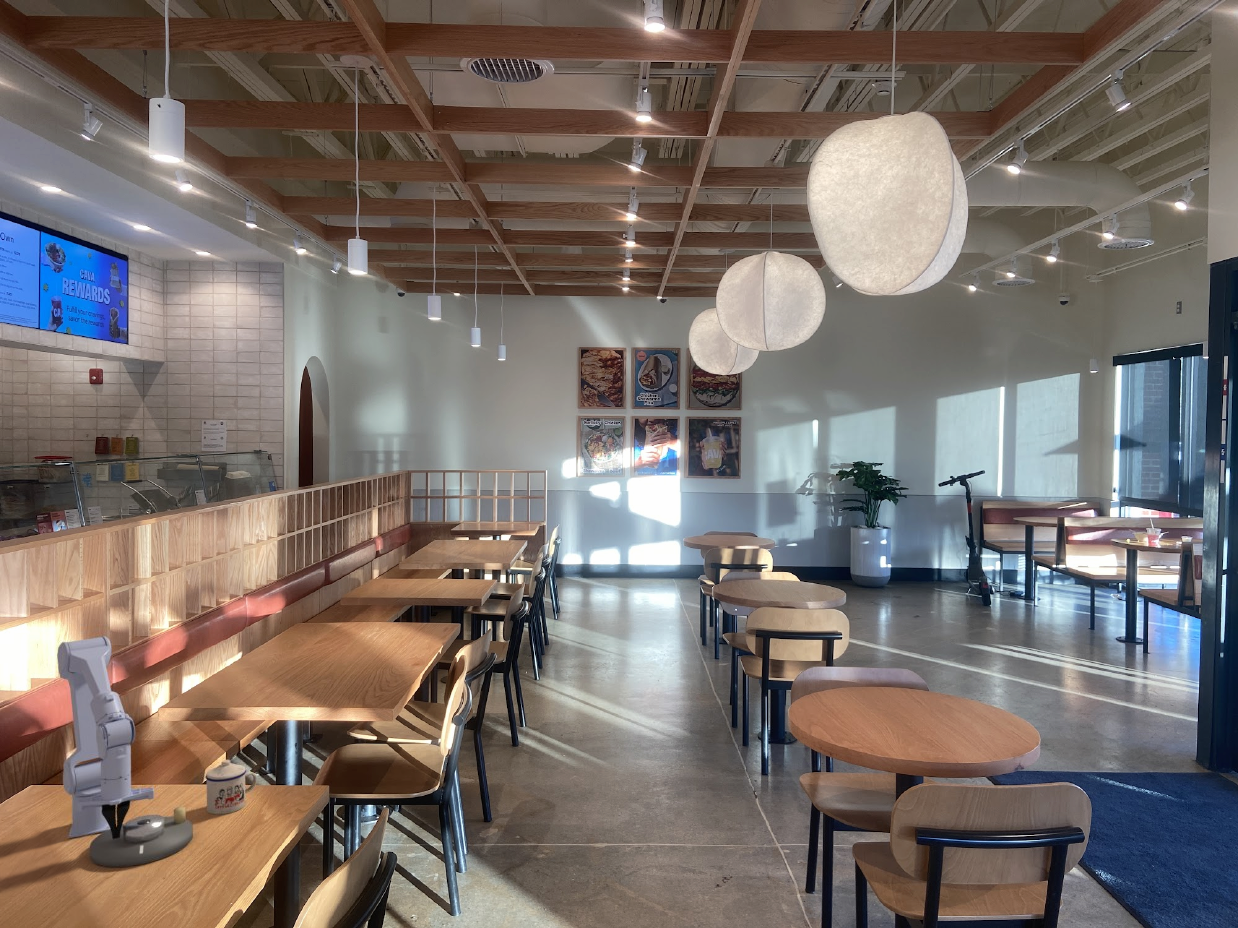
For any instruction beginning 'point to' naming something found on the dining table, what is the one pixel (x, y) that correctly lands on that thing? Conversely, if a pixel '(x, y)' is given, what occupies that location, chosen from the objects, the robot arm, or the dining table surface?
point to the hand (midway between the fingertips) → (116, 836)
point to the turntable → (143, 844)
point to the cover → (143, 829)
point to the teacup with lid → (227, 788)
